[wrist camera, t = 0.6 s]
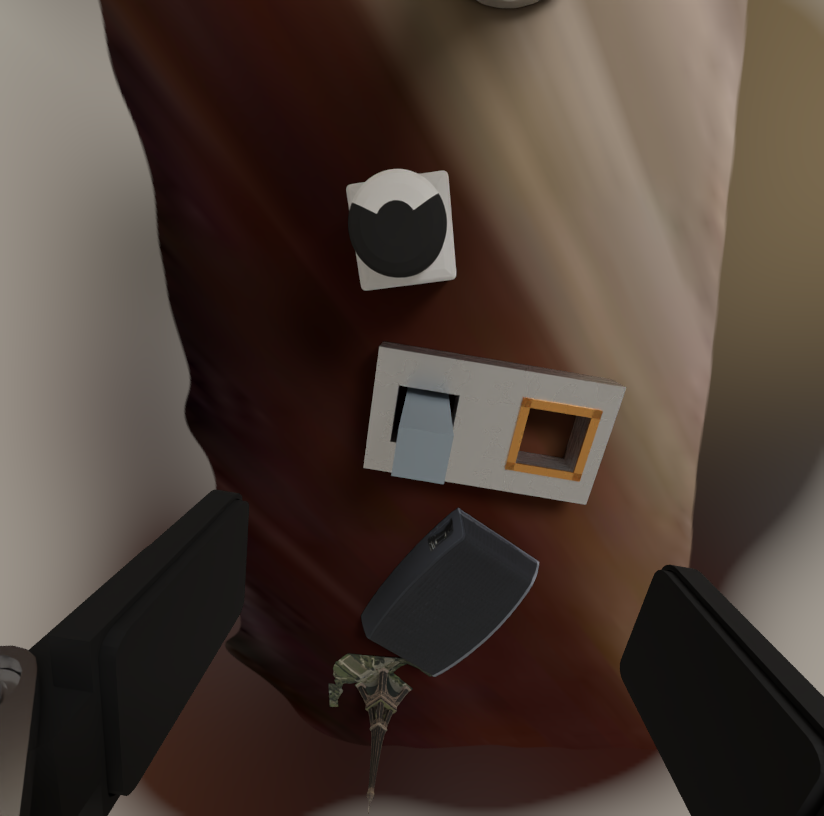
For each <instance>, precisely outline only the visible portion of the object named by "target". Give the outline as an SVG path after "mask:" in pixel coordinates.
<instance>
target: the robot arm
mask: <svg viewBox="0 0 824 816" xmlns="http://www.w3.org/2000/svg"><path fill="white" fill-rule="evenodd" d="M476 1H478V2H480V3H482V4H484V5H488V6H493V7H497V8H518V7H522V6H526V5H530V4H534V3H536V2H538V1H540V0H476ZM248 516H249V504H248V502H247V501H242V496H241V495H240V494H239V493H233V492H227V491H221V490H213V491H211V492H210V493H209V494H208V495H206V496H205V497H204V498H203V499H202V500H201V501H200V502H198V503H197V504H196V505H195V506H194V507H193V508H192V509H190V510H189V511H188V512H187V513H186V514H185V515H184V516H183V517H181V518H180V519H179V520H178V521H177V522H176V523H175V524H174V525H172V526H171V527H170V528H169V529H168V530H167V531H165V532H164V533H163V534H162V535H161V536H160V537H159V538H158V539H156V540H155V541H154V542H153V543H152V544H151V545H149V546H148V547H147V548H145V549H144V550H143V551H142V552H140V553H139V554H138V555H137V556H136V557H134V558H133V559H132V560H131V561H130V562H129V563H128V564H127V565H125V566H124V567H123V568H122V569H121V570H120V571H118V572H117V573H116V574H115V575H114V576H113V577H112V578H110V579H109V580H108V581H107V582H106V583H105V584H104V585H102V586H101V587H100V588H99V589H98V590H97V591H96V592H95V593H93V594H92V595H91V596H90V597H89V598H88V599H87V600H85V601H84V602H83V603H82V604H81V605H80V606H79V607H77V608H76V609H75V610H74V611H73V612H72V613H71V614H69V615H68V616H67V617H66V618H65V619H64V620H63V621H61V622H60V623H59V624H58V625H57V626H56V627H55V628H53V629H52V630H51V631H50V632H49V633H48V634H47V635H45V636H44V637H43V638H42V639H41V640H40V641H39V642H37V643H36V644H35V645H34V646H33V647H32V648H31V649H30V650H27V649H24V648H20V647H16V646H0V816H107V815H108V814H109V812H110V811H111V809H112V807H113V806H114V804H115V803H116V801H117V800H118V798H119V796H120V795H124V796H127V795H129V794H130V793H131V792H132V791H133V790H134V789H135V787H136V786H137V784H138V783H139V781H140V780H141V778H142V776H143V775H144V773H145V771H146V770H147V768H148V766H149V765H150V763H151V761H152V760H153V758H154V756H155V754H156V753H157V751H158V749H159V748H160V746H161V745H162V743H163V741H164V740H165V738H166V736H167V735H168V733H169V731H170V730H171V728H172V726H173V725H174V723H175V721H176V720H177V718H178V716H179V715H180V713H181V711H182V710H183V708H184V706H185V705H186V703H187V701H188V700H189V698H190V696H191V695H192V693H193V692H194V690H195V688H196V686H197V685H198V683H199V682H200V680H201V678H202V676H203V675H204V673H205V671H206V670H207V668H208V666H209V665H210V663H211V662H212V660H213V658H214V657H215V655H216V653H217V652H218V650H219V648H220V647H221V645H222V643H223V642H224V640H225V638H226V637H227V635H228V633H229V632H230V630H231V628H232V627H233V625H234V623H235V622H236V620H237V618H238V617H239V615H240V612H241V610H242V607H243V603H244V593H245V574H246V555H247V535H248ZM620 673H621V677H622V680H623V682H624V684H625V686H626V688H627V690H628V692H629V694H630V696H631V698H632V700H633V702H634V704H635V706H636V708H637V710H638V712H639V714H640V716H641V718H642V720H643V722H644V724H645V726H646V728H647V730H648V732H649V733H650V735H651V737H652V739H653V741H654V743H655V745H656V747H657V749H658V751H659V753H660V755H661V757H662V759H663V761H664V763H665V765H666V767H667V769H668V771H669V773H670V775H671V777H672V779H673V781H674V783H675V785H676V787H677V789H678V791H679V793H680V795H681V797H682V799H683V801H684V803H685V805H686V807H687V808H688V810H689V812H690V814H691V816H824V697H823V696H822V695H821V694H820V693H819V692H818V691H817V690H816V689H815V688H814V687H813V685H812V684H810V683H809V681H808V680H807V679H806V678H804V676H803V675H802V674H801V673H800V672H798V670H797V669H796V668H795V667H794V666H793V665H792V664H791V663H790V662H788V660H787V659H786V658H785V657H784V656H783V655H782V654H781V653H780V652H779V651H778V650H777V649H776V648H775V647H774V646H773V645H772V644H771V643H770V642H769V641H768V640H767V639H766V638H765V637H764V636H763V635H762V634H761V633H760V632H759V631H758V630H757V629H756V628H755V627H754V626H753V625H752V624H751V623H750V622H749V621H748V620H747V619H746V618H745V617H744V616H743V615H742V614H741V613H740V612H739V611H738V610H737V609H736V608H735V607H734V606H733V605H732V604H731V603H730V602H729V601H728V600H727V599H726V598H725V597H724V596H723V595H722V594H721V593H720V592H719V591H718V590H717V589H716V588H715V587H714V586H713V585H712V584H711V583H710V582H709V581H708V580H707V579H706V578H705V577H704V576H703V575H702V574H701V573H700V572H699V571H698V570H696V569H691V568H686V567H680V566H674V565H666V566H664V567H663V568H662V570H658V571H657V572H655V574H654V576H653V579H652V581H651V584H650V586H649V589H648V592H647V594H646V597H645V599H644V602H643V604H642V607H641V610H640V612H639V615H638V617H637V620H636V623H635V625H634V628H633V630H632V633H631V635H630V638H629V641H628V643H627V646H626V648H625V651H624V653H623V656H622V659H621V662H620Z"/></svg>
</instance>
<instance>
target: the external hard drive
mask: <svg viewBox="0 0 824 816" xmlns="http://www.w3.org/2000/svg"><path fill="white" fill-rule="evenodd" d="M538 567H539V562H538V561H537V560H536V559H534V558H533V557H531V556H530V555H528V554H527V553H525V552H524V551H522V550H521V549H519V548H518V547H516V546H515V545H513V544H512V543H510V542H509V541H507V540H506V539H504V538H503V537H501V536H500V535H498V534H497V533H495V532H494V531H492V530H491V529H489V528H488V527H486V526H485V525H483V524H482V523H480V522H479V521H477V520H476V519H474V518H473V517H471V516H470V515H468V514H467V513H465V512H464V511H462V510H461V509H459V508H457V509H456V510H454V511H453V512H451V513H450V514H449V515H448V516H447V517H446V518H444V519H443V520H442V521H441V522H440V523H439V524H438V525H437V526H436V527H435V528H434V529H432V530H431V531H430V532H429V533H428V534H427V535H426V536H425V537H424V538H423V539H422V540H421V541H420V542H419V543H418V544H417V545H416V546H415V547H414V548H413V549H412V551H411V552H410V553H409V554H408V555H407V556H406V557H405V558H404V559H403V560H402V562H401V563H400V564H399V565H398V566H397V567H396V568H395V570H394V571H393V572H392V573H391V574H390V576H389V577H388V578H387V579H386V580H385V582H384V583H383V584H382V586H381V587H380V588H379V590H378V591H377V592H376V594H375V595H374V596H373V598H372V599H371V601H370V602H369V604H368V605H367V607H366V608H365V610H364V611H363V613H362V615H361V619H362V624H363V628H364V631H365V634H366V636H367V638H368V639H370V640H371V641H373V642H375V643H377V644H379V645H381V646H382V647H384V648H386V649H388V650H389V651H391V652H393V653H395V654H396V655H398V656H400V657H401V658H403V659H405V660H407V661H408V662H410V663H412V664H413V665H415V666H417V667H419V668H420V669H422V670H424V671H425V672H427V673H429V674H431V675H432V676H434V677H436V676H438V675H440V674H441V673H443V672H445V671H447V670H448V669H450V668H451V667H453V666H454V665H456V664H457V663H458V662H460V661H461V660H463V659H464V658H465V657H467V656H468V655H469V654H470V653H472V652H473V651H474V650H475V649H476V648H478V647H479V646H480V645H481V644H482V643H484V642H485V641H486V640H487V639H488V638H489V637H490V636H491V635H492V634H493V633H494V632H495V631H496V630H497V629H498V628H499V627H500V626H501V625H502V624H503V623H504V622H505V621H506V619H507V618H508V617H509V616H510V615H511V614H512V612H513V611H514V610H515V609H516V608H517V606H518V605H519V604H520V602H521V601H522V600H523V598H524V597H525V595H526V594H527V593H528V591H529V590H530V588H531V586H532V585H533V583H534V581H535V578H536V576H537V572H538Z"/></svg>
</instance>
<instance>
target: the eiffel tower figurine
mask: <svg viewBox="0 0 824 816" xmlns="http://www.w3.org/2000/svg"><path fill="white" fill-rule="evenodd" d="M406 664H409V665H411V666H414V667H416V668H418V669H420V668H419V667H417V666H415V665H413V664H412V663H410V662H408V661H407V660H405V659H403V658H391V657H378V656H367V655H357V654H349V653H348V654H347V655H345V656H344V657H343V658H341V659H340V660H338V661H337V662H335V665H334V668H333V670H334V674H333V675H334V677H335V678H336V679H335V680H334V681H335V682H336V684H329V699H330V707H338V701H337V700H338V698H339V696H340V695H341V693H342V692H343V690H342V688H341V687H342V685H343V684H344V683H350V684H351V683H355V682H358V683H357V684H356V685H355V686H356V687H357V688H358V689H359V692H360V694H361V696H362V698H363V700H364V702H365V704H366V708H365V710H367V711H368V712H369V717H370V723H371V728H370V730H371V735H372V743H371V747H372V748H371V763H370V778H369V790H368V793H367V799H368V800H369V804H370V802H371V800H372V799H373V798H374V786H375V779H376V774H377V768H378V762H379V757H380V751H381V747H382V742H383V738H384V734H385V732H386V731H387V729H386V728H387V725H388V723H389V720H390V718H391V716H392V714H393V713H395V712H396V710H397V706H398V704H399V703H400V702H401V701H402V699H403V698H404V697H405V696H406V694H407V693H408V692H409V691H411V690H412V688H411V687H410V686H409V685H407V684H406V683H405V682H404V681H402V680H401V679H400V678H399V677H397V676H396V675H395V674H394V673H393V672H394V671H395V670H396V669H397V668H399V667H401V666H403V665H406ZM420 670H421V671H422V672H424V673H425V674H427V675H428V676H432V675H431V674H429V673H427V672H425V671H424V670H422V669H420ZM441 674H442V673H441ZM375 717H376V718H377V719H375ZM383 720H384V721H383ZM369 806H370V805H369ZM368 813H369V810H368Z"/></svg>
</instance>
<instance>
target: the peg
mask: <svg viewBox="0 0 824 816" xmlns="http://www.w3.org/2000/svg"><path fill="white" fill-rule="evenodd" d="M453 438H454V433H453V425H452V418H451V410H450V403H449V395H448V393H442V392H436V391H430V390H424V389H418V388H411V387H408V389H407V394H406V398H405V402H404V407H403V411H402V415H401V420H400V424H399V429H398V436H397V442H396V448H395V455H394V461H393V467H392V474H391V476H396V477H402V478H408V479H414V480H420V481H426V482H432V483H438V484H444V481H445V476H446V471H447V467H448V462H449V457H450V452H451V447H452V443H453Z"/></svg>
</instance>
